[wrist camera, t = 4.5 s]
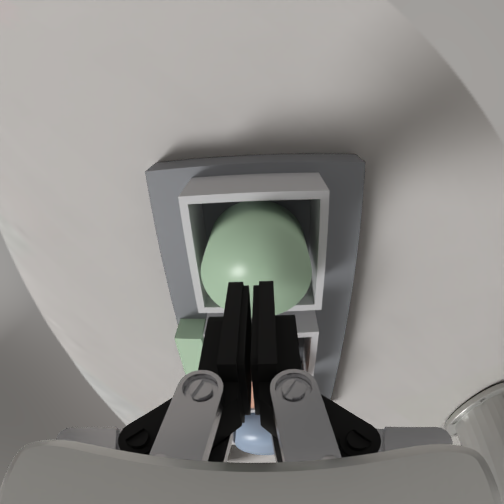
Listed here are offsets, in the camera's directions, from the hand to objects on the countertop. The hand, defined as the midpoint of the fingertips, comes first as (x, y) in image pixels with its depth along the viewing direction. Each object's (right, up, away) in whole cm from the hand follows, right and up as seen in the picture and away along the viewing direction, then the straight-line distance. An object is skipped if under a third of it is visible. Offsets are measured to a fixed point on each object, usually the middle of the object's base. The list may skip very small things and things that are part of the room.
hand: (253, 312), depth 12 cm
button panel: (+1, -3, +12) cm, 12 cm away
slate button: (+1, -12, +13) cm, 18 cm away
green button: (0, +3, +5) cm, 6 cm away
